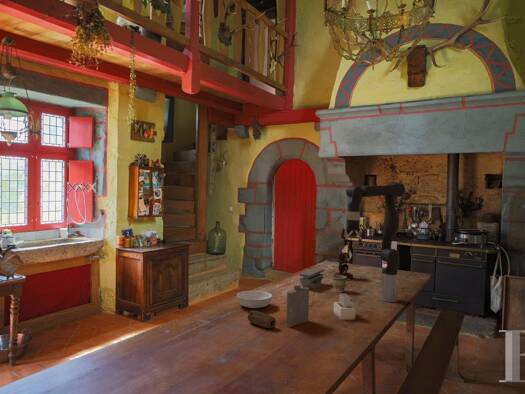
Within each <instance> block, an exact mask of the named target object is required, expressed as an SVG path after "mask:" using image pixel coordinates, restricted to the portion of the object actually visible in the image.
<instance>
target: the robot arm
mask: <svg viewBox="0 0 525 394" xmlns="http://www.w3.org/2000/svg"><path fill="white" fill-rule="evenodd" d="M405 192H406V187H405V185H404V184H403V183H401V182H394V181H392V182H391V181H390V182H388V183H387V184H386V185H373V184H371V185H369V184H367V185H361V186H360V185H351V186H348V187H347V188H346V189H345V194H346V196H347V197H349V198H351V201H349V202H348V204H347V213H346V215H347V216H346V228H341V231H340V233H341V234H340V239H342V240H343V245H344V246H346V247H347V246H348V239H349V237H350V236H352V237H357V238H358V242H357V243H358V244H357V246H358V247H361V245H362V240H363V239H365V238H366V235H365V234H366V233H365V231H366V229H365V228H360V223H361V222H360V221H361V215H360V213H361V210H360V209H361V208H360V207H361V202H362V199H363V197H364V198H370V197H371V198H372V197H381V196H384V202H385V203H384V215H383V218H384V219H383V231H382V238H381V245H380V252H379V258H380V260H381V261H382V262H385V263H386V267H383V268H382V270H381V289H380V301H383V302H385V303H396V302H398V300H399V299H398V295H399V287H398V285H397V284H398V271H399V268H400V252H399V250H397V249H396V248H392V244H393V243H392V242H393V240H394V238H395V236H396V234H397V233H398V231H399V228H400V226H399V225H400V215H399V213H398V210H397V208H396V198H399V197H402V196H404V194H405ZM346 232H347V233H346ZM345 233H346V234H345ZM360 233H361V234H360Z"/></svg>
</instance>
